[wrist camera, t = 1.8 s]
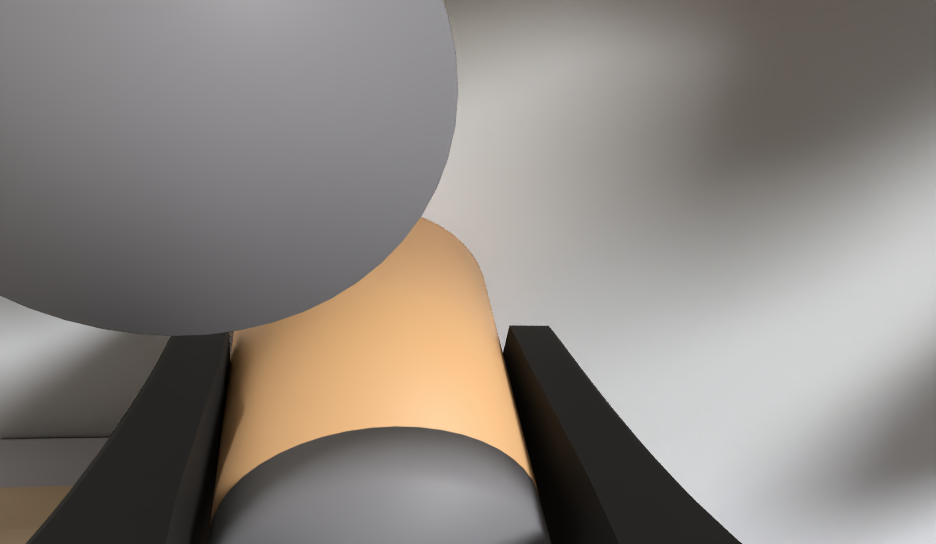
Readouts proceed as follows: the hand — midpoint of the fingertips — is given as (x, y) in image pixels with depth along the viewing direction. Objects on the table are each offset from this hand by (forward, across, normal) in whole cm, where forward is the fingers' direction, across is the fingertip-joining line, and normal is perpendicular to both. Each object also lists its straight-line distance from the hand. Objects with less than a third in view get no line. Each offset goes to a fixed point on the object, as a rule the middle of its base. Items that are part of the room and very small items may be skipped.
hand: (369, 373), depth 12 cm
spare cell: (+2, +2, -6) cm, 6 cm away
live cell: (+1, 0, 0) cm, 1 cm away
